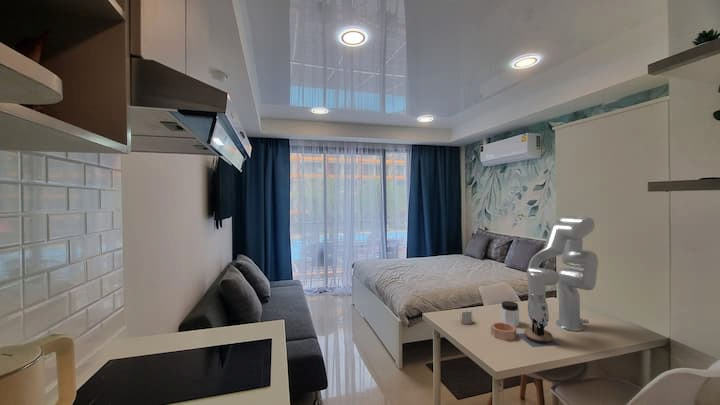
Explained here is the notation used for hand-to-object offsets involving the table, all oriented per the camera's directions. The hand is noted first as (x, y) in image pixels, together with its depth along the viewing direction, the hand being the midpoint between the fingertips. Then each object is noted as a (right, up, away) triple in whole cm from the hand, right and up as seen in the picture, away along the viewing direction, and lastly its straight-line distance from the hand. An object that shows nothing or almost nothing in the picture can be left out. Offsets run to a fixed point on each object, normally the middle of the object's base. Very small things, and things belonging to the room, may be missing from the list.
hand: (538, 333), depth 153 cm
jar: (-5, -4, +18) cm, 19 cm away
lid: (0, -1, 0) cm, 1 cm away
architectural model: (-28, -5, +22) cm, 36 cm away
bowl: (-15, -4, +5) cm, 16 cm away
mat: (-1, -4, 0) cm, 4 cm away
